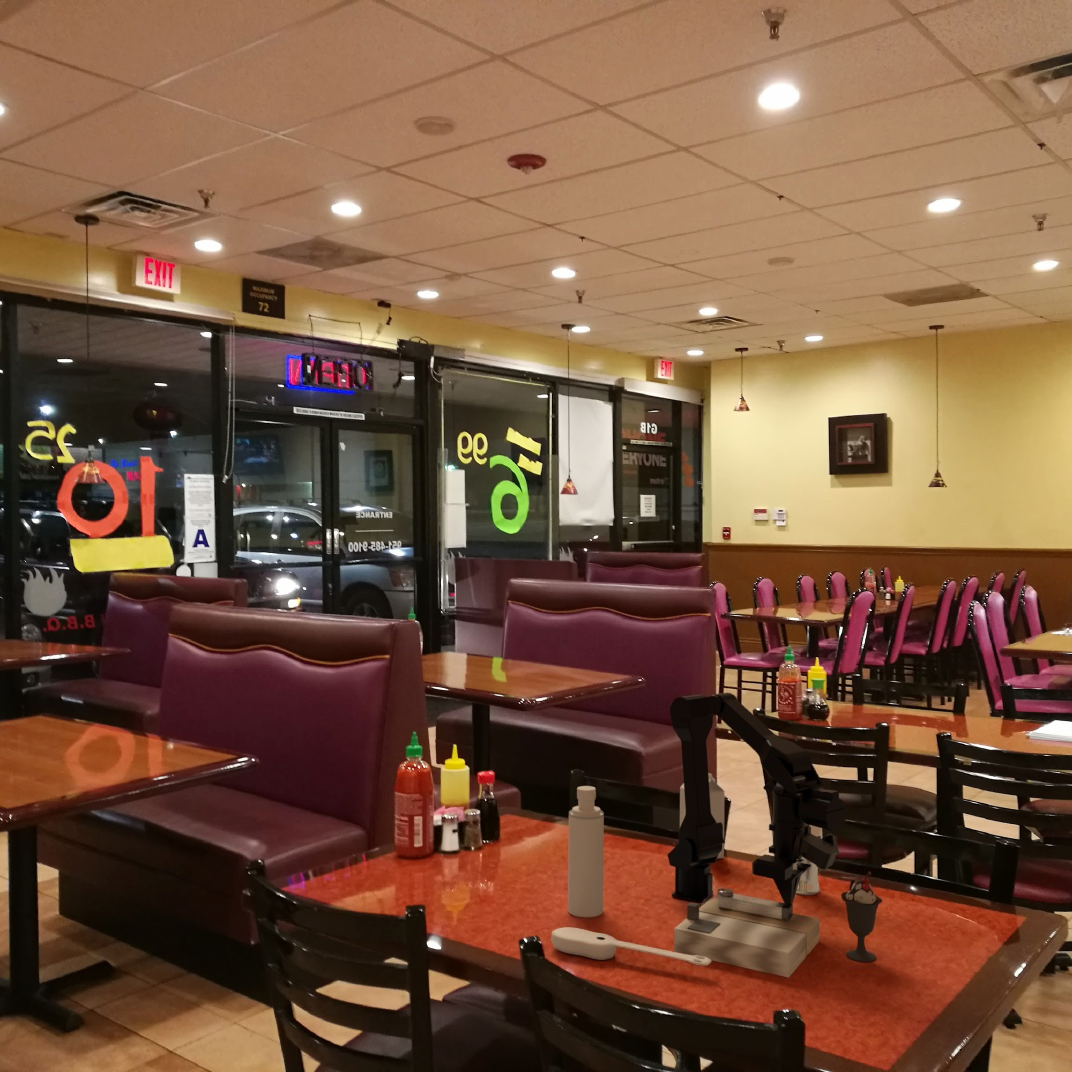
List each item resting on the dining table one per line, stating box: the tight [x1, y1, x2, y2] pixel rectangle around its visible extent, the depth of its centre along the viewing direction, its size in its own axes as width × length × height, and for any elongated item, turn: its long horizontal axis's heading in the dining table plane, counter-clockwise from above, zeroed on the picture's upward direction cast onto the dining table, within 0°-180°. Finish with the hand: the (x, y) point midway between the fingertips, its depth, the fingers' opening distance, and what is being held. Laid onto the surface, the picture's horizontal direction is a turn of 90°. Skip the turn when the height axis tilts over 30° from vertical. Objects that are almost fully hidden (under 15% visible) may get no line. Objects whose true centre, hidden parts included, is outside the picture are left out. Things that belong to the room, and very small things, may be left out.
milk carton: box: [679, 772, 725, 860], centre depth 233 cm, size 7×7×19 cm
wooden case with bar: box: [673, 897, 820, 979], centre depth 182 cm, size 20×18×6 cm
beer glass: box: [795, 825, 823, 896], centre depth 211 cm, size 7×7×15 cm
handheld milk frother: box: [551, 926, 712, 967], centre depth 175 cm, size 28×6×3 cm, turn 65°
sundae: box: [840, 871, 883, 963], centre depth 178 cm, size 7×7×15 cm
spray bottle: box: [567, 785, 605, 918], centre depth 198 cm, size 7×7×25 cm
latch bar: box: [717, 887, 794, 921], centre depth 187 cm, size 13×3×3 cm, turn 59°
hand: (788, 905), depth 189 cm, fingers closed
